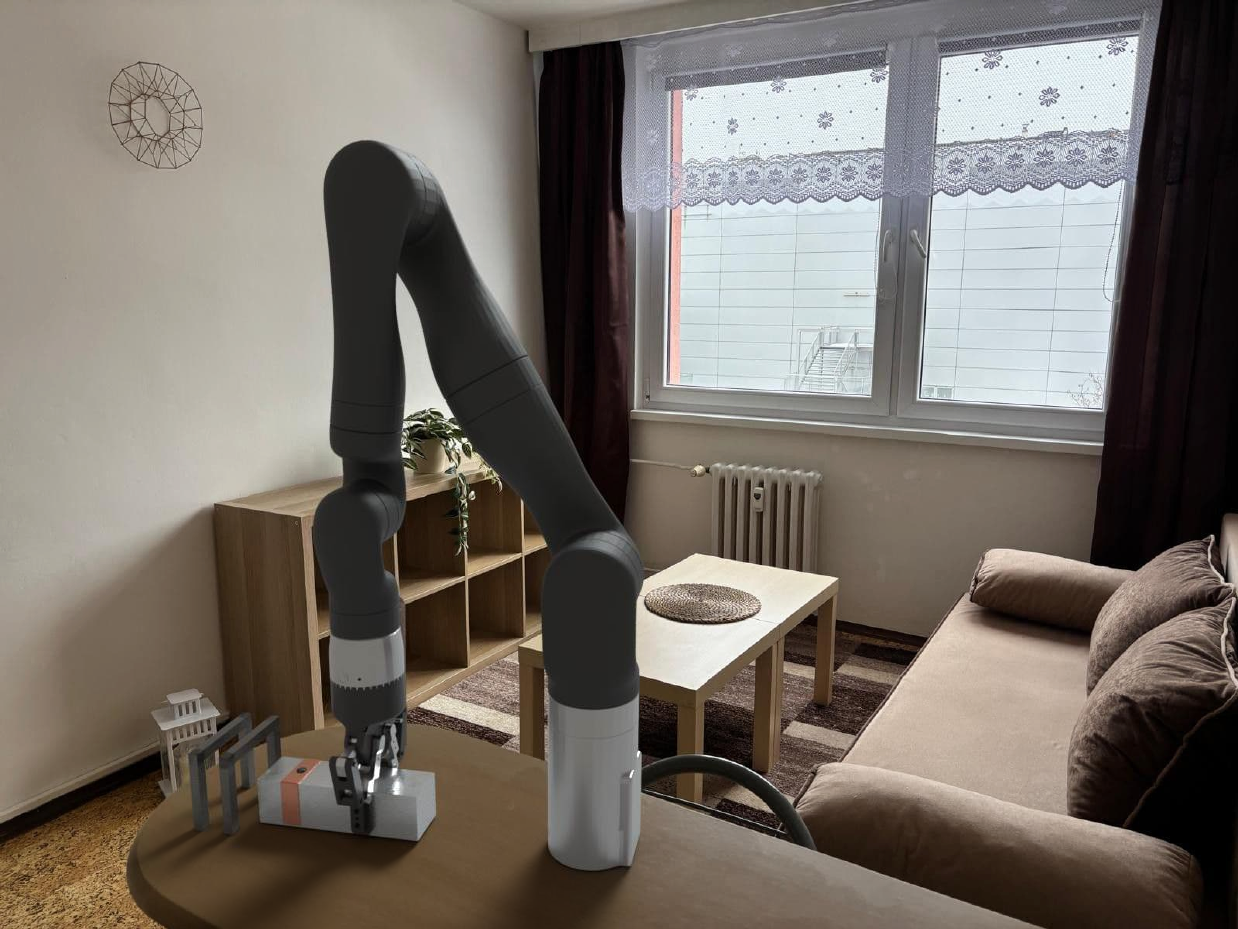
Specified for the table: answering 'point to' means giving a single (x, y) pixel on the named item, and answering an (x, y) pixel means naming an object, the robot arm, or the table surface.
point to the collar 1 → (198, 772)
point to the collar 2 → (235, 753)
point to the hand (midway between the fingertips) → (374, 817)
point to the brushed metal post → (310, 802)
